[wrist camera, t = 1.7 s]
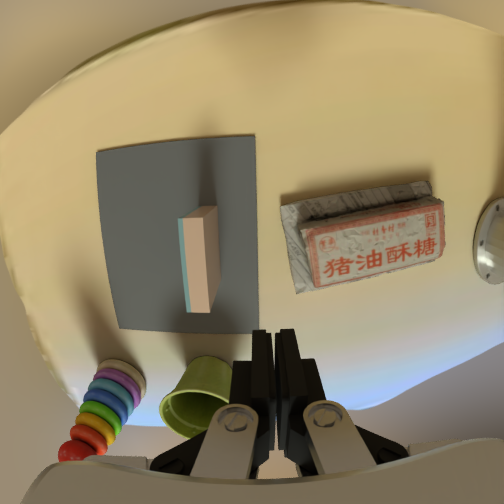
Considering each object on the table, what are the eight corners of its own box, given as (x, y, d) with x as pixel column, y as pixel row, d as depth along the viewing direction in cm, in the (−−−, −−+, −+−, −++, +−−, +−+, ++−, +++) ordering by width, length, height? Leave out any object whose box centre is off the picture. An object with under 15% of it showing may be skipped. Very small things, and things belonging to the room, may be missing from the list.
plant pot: (232, 337, 34) (225, 383, 26) (255, 391, 36) (254, 438, 28) (165, 351, 35) (144, 394, 27) (193, 401, 37) (181, 445, 29)
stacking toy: (91, 359, 36) (28, 445, 18) (131, 352, 35) (69, 455, 17) (116, 398, 38) (70, 486, 20) (157, 394, 37) (116, 496, 19)
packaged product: (447, 181, 24) (451, 270, 27) (425, 178, 29) (430, 258, 31) (281, 210, 26) (299, 309, 28) (277, 204, 30) (294, 290, 33)
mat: (254, 136, 28) (255, 136, 28) (258, 332, 34) (258, 333, 33) (97, 152, 28) (96, 152, 28) (120, 327, 34) (119, 328, 34)
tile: (217, 205, 30) (202, 217, 22) (221, 278, 32) (209, 312, 24) (198, 206, 30) (177, 218, 22) (203, 279, 32) (186, 312, 24)
